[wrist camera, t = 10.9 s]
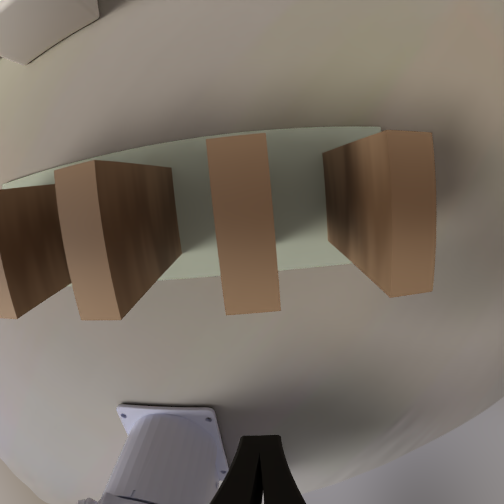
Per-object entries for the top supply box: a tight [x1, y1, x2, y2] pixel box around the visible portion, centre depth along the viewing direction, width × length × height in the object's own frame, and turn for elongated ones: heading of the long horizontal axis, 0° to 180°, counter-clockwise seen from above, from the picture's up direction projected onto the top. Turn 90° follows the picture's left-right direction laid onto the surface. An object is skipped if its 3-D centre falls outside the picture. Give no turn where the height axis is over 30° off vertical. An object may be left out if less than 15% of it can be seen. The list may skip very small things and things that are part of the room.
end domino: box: [322, 130, 436, 298], centre depth 13 cm, size 5×2×9 cm, turn 5°
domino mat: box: [2, 126, 381, 286], centre depth 18 cm, size 8×26×1 cm, turn 95°
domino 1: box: [0, 184, 71, 319], centre depth 13 cm, size 5×2×9 cm, turn 6°
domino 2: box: [54, 160, 182, 320], centre depth 13 cm, size 5×2×9 cm, turn 5°
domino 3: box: [206, 133, 281, 315], centre depth 13 cm, size 5×2×9 cm, turn 5°
